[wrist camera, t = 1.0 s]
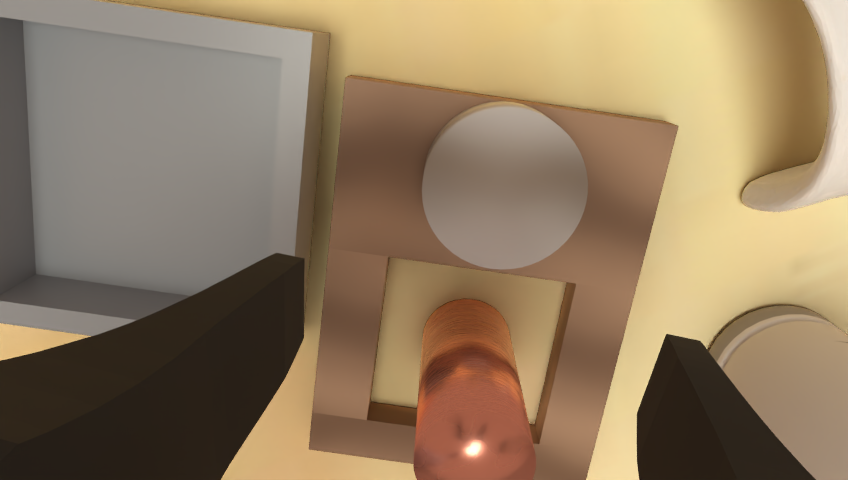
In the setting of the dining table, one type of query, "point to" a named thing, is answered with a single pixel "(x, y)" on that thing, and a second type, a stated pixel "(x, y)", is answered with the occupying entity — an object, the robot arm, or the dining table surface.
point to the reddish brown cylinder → (470, 399)
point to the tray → (148, 156)
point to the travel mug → (793, 381)
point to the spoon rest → (844, 139)
